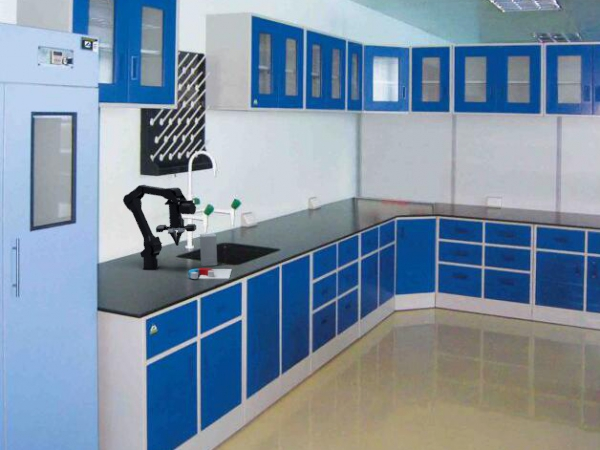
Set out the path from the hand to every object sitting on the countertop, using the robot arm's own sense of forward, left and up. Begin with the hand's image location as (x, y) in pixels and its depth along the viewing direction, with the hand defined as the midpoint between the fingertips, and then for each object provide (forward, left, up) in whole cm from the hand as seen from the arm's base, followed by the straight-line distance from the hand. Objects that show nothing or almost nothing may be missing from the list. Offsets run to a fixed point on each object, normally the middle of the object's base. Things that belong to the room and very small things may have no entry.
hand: (177, 245), depth 374 cm
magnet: (+10, -8, -11) cm, 17 cm away
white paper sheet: (+19, -7, -13) cm, 24 cm away
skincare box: (+14, +15, -13) cm, 24 cm away
